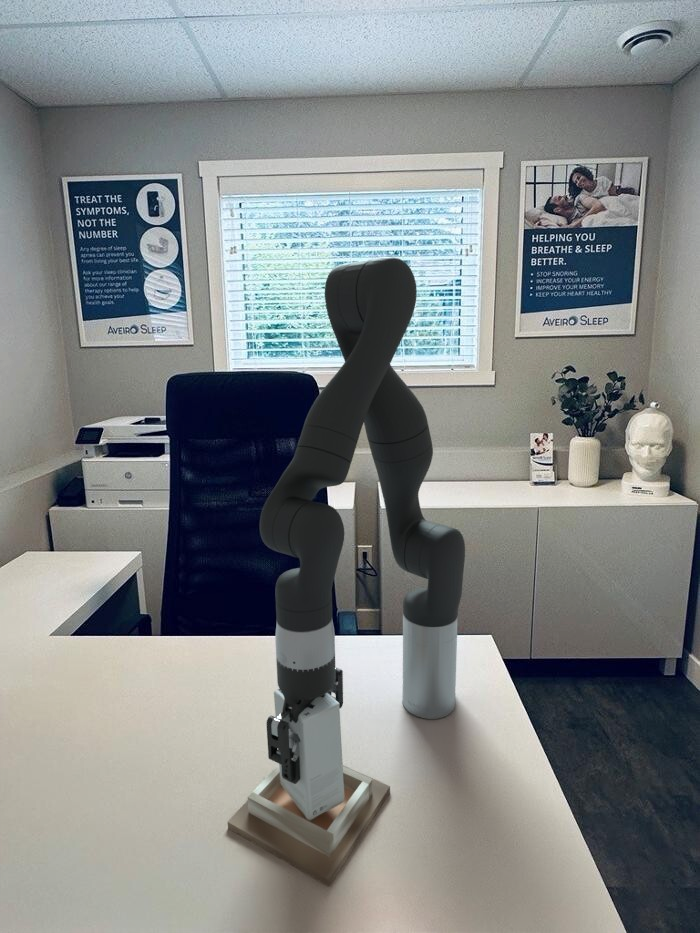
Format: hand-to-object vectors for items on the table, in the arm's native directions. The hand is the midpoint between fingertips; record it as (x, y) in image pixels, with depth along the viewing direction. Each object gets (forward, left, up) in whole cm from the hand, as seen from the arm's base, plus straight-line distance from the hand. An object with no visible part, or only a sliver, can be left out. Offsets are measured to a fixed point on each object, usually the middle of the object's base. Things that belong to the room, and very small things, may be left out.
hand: (309, 759), depth 74 cm
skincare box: (0, 0, -5) cm, 5 cm away
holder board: (0, 0, -8) cm, 8 cm away
